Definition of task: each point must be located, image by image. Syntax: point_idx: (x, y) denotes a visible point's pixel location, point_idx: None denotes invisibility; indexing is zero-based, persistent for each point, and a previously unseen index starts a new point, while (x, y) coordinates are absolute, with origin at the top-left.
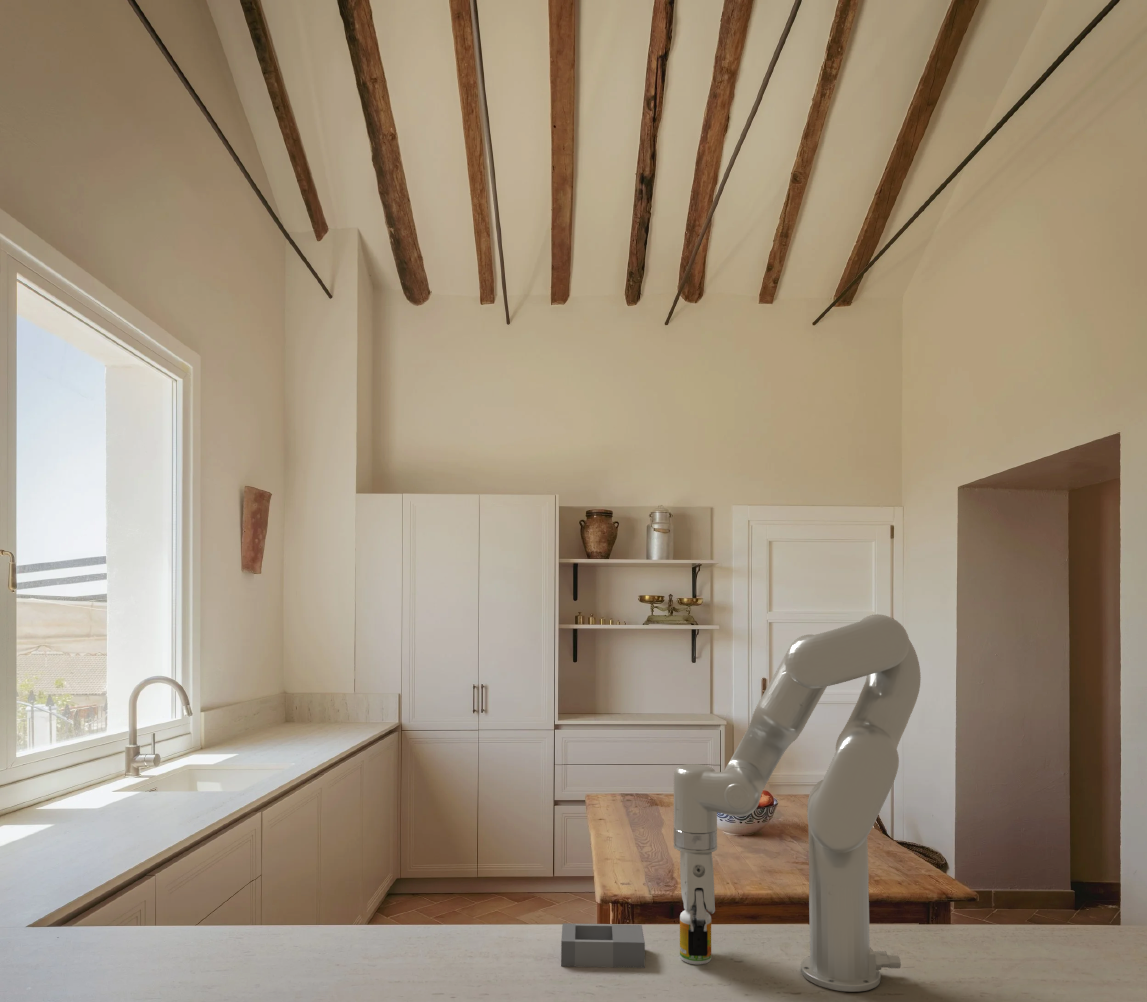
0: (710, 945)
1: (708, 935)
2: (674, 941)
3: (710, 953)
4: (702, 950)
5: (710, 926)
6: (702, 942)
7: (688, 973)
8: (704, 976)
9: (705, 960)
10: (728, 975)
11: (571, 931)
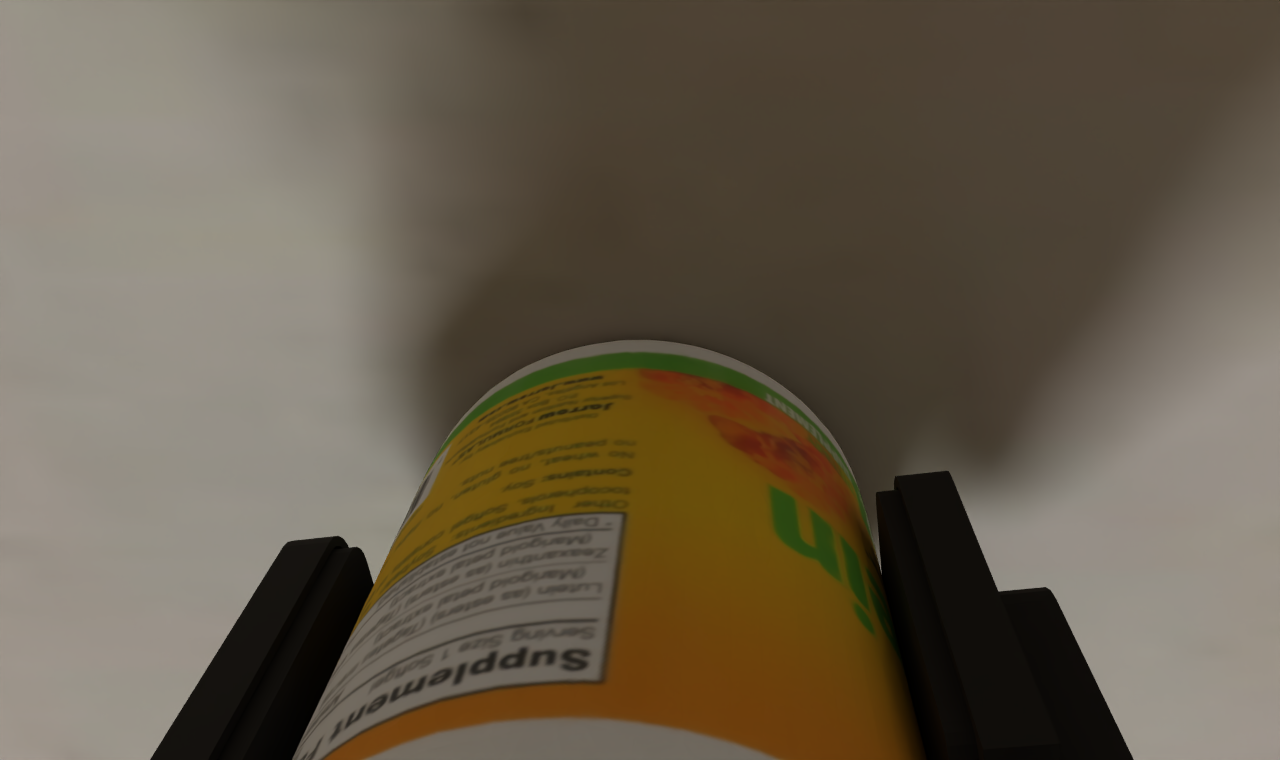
0: (722, 452)
1: (809, 605)
2: (148, 754)
3: (717, 391)
4: (1041, 593)
5: (715, 671)
6: (1088, 685)
7: (1132, 608)
8: (1232, 421)
9: (822, 432)
10: (1200, 72)
11: None
